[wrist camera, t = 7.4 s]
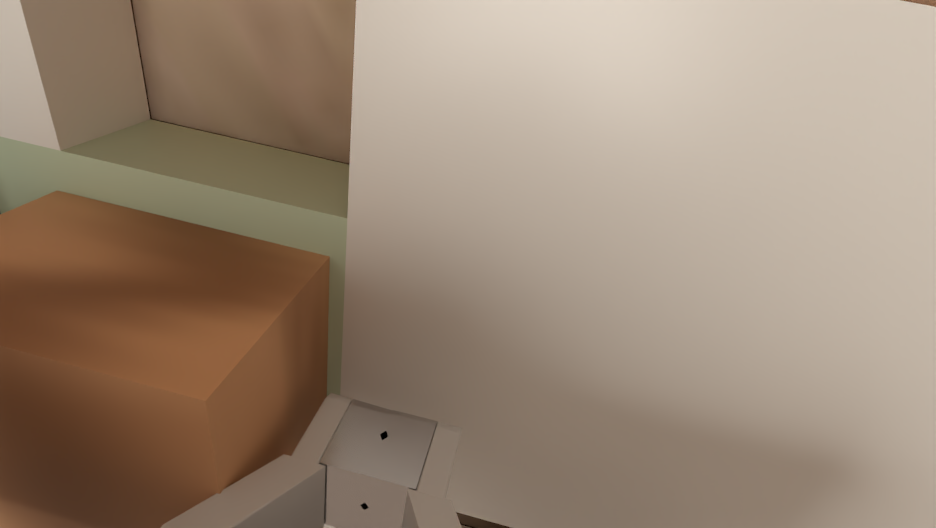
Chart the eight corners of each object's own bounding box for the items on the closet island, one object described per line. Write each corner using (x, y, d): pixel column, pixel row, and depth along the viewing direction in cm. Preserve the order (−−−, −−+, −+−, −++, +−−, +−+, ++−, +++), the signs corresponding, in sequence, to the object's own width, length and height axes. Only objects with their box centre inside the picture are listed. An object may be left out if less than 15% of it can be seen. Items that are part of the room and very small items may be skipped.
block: (330, 256, 10) (205, 401, 7) (325, 450, 13) (239, 615, 10) (56, 190, 11) (-189, 294, 7) (115, 392, 14) (-37, 532, 10)
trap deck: (1323, 86, 8) (2159, 219, 4) (778, 622, 17) (843, 834, 13) (-35, -167, 10) (-498, -271, 6) (134, 441, 19) (8, 575, 15)
